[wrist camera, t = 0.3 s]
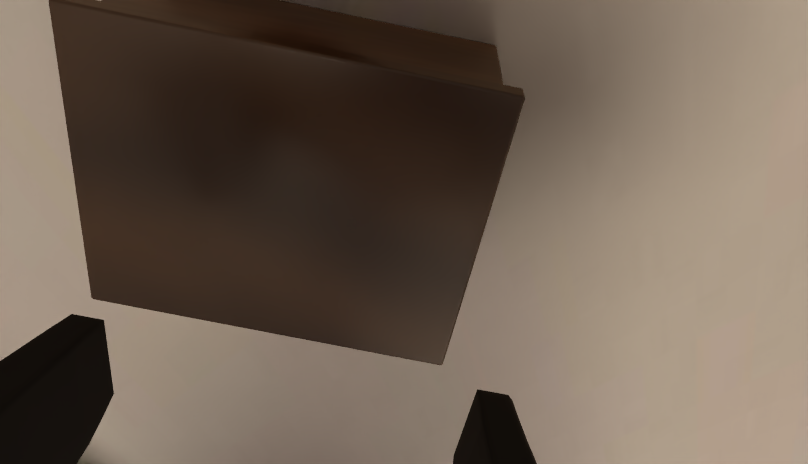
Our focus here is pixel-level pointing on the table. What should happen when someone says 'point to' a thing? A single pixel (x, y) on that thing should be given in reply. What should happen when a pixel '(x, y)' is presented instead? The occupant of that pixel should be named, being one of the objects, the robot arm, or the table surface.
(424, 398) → the table surface
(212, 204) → the cabinet
